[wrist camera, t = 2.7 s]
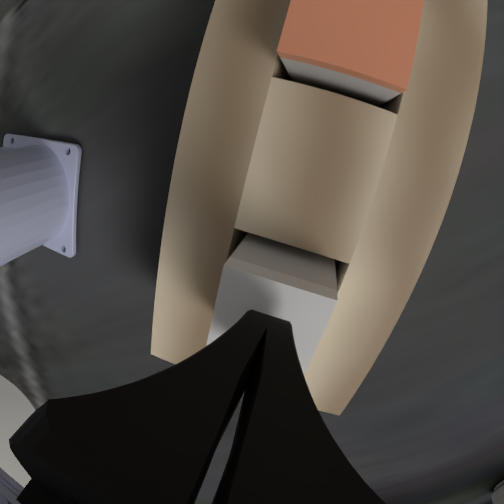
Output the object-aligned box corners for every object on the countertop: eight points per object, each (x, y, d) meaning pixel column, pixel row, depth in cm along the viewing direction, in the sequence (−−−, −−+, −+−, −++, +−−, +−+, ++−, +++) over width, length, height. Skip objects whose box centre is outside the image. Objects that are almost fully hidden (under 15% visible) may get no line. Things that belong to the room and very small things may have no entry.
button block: (187, 307, 19) (150, 353, 15) (268, -35, 11) (247, -84, 7) (339, 355, 18) (339, 415, 14) (449, 17, 10) (487, -17, 6)
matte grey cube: (237, 292, 15) (204, 351, 11) (255, 223, 14) (223, 264, 10) (308, 314, 15) (300, 382, 11) (333, 247, 14) (337, 300, 9)
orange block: (292, 81, 11) (276, 51, 7) (311, 10, 10) (304, -46, 6) (377, 107, 11) (407, 89, 7) (393, 34, 10) (425, -11, 5)
